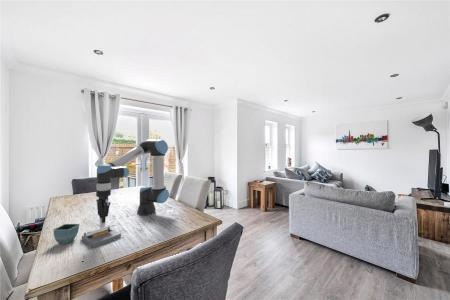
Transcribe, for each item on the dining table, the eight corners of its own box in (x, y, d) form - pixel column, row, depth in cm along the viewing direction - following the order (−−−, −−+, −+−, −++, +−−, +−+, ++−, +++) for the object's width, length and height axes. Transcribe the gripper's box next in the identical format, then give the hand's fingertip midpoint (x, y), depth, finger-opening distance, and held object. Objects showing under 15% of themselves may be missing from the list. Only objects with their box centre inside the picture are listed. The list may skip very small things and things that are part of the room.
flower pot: (64, 238, 113) (64, 223, 113) (79, 238, 114) (80, 223, 114) (52, 245, 105) (52, 229, 105) (68, 245, 105) (69, 229, 105)
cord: (92, 233, 112) (94, 236, 110) (106, 229, 119) (108, 232, 117) (91, 237, 113) (93, 240, 111) (105, 232, 119) (107, 235, 118)
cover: (86, 234, 112) (86, 232, 112) (107, 227, 122) (107, 225, 122) (92, 232, 107) (92, 230, 108) (114, 225, 118) (114, 224, 118)
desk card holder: (81, 239, 112) (81, 232, 112) (108, 231, 125) (108, 224, 125) (93, 247, 103) (94, 239, 103) (120, 237, 116) (121, 230, 116)
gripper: (92, 189, 114) (90, 226, 114) (102, 192, 107) (100, 232, 107) (105, 187, 120) (103, 223, 120) (115, 190, 113) (114, 228, 113)
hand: (102, 227), depth 114 cm, fingers closed
